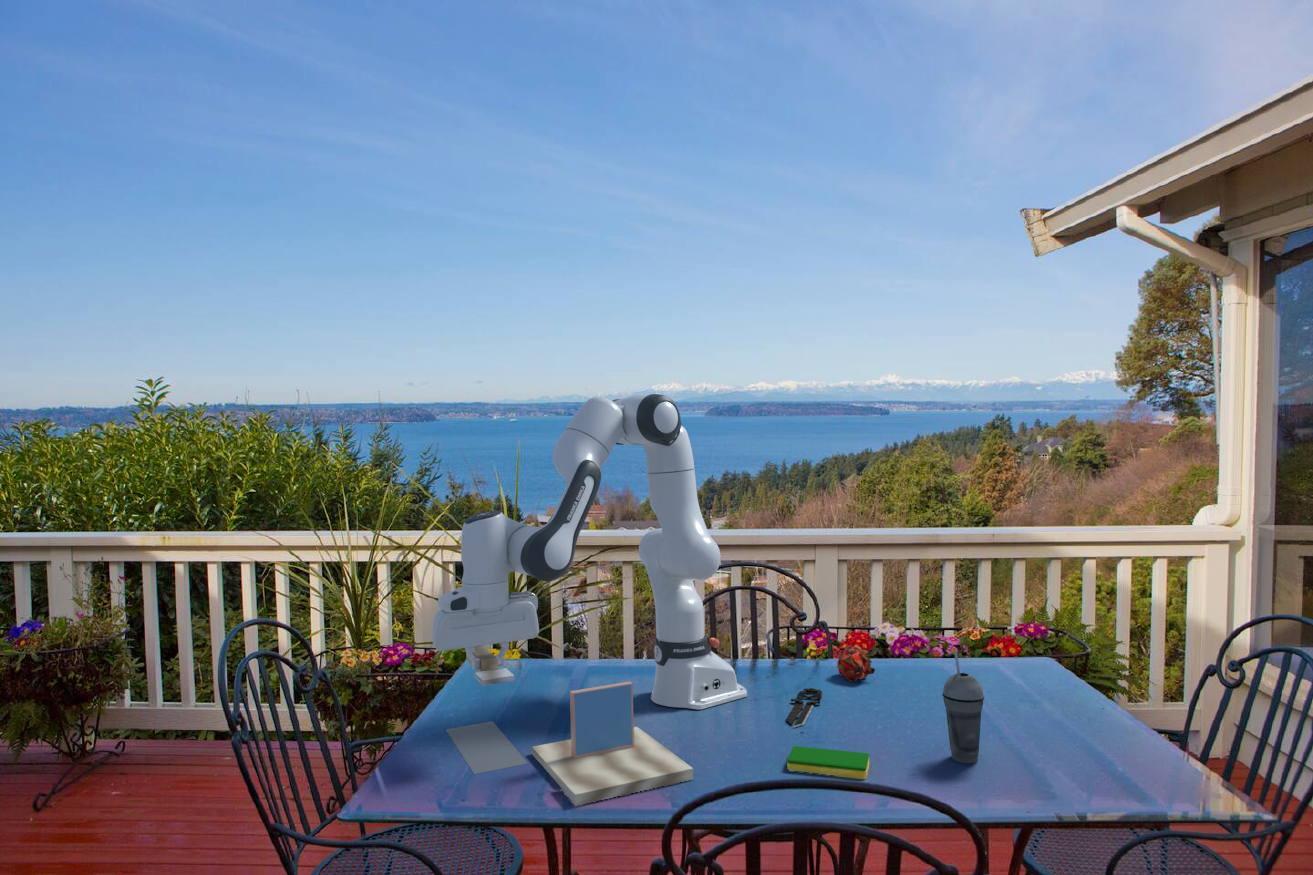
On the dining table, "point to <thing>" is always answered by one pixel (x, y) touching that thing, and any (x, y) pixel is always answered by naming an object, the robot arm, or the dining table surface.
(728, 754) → the dining table surface
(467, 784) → the dining table surface
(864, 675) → the dragon fruit
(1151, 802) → the dining table surface
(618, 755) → the board
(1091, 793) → the dining table surface
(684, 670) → the robot arm
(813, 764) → the dish sponge
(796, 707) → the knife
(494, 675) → the turner
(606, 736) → the tile
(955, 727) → the beverage cup
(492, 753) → the mat
